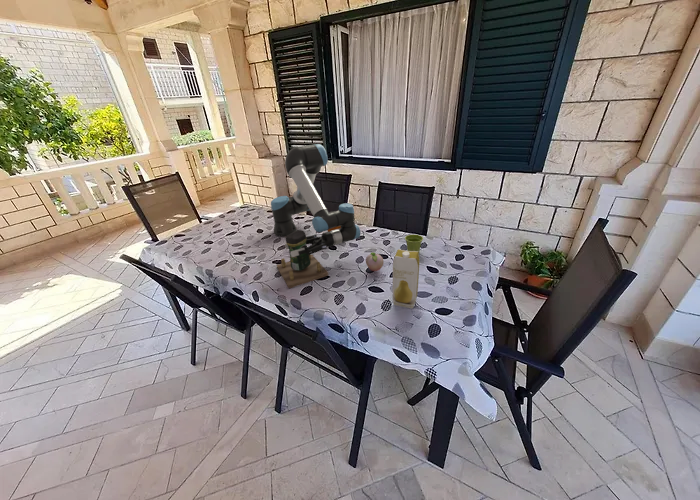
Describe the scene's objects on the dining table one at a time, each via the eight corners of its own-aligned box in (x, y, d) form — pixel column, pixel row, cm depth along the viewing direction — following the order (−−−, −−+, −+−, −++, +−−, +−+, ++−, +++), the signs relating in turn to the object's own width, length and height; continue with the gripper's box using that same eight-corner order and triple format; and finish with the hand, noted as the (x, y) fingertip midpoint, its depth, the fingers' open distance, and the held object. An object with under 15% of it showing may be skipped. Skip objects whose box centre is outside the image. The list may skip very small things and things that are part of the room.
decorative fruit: (386, 273, 130) (386, 255, 125) (370, 277, 128) (369, 259, 123) (379, 264, 138) (379, 247, 133) (364, 267, 136) (363, 250, 131)
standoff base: (276, 267, 141) (274, 257, 139) (312, 256, 149) (311, 247, 146) (289, 288, 124) (286, 277, 121) (328, 275, 132) (327, 264, 129)
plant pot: (401, 253, 146) (401, 238, 142) (410, 246, 152) (411, 232, 148) (416, 258, 140) (417, 243, 136) (425, 251, 146) (426, 237, 142)
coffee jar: (301, 260, 141) (296, 227, 132) (313, 263, 137) (308, 230, 128) (288, 268, 134) (281, 235, 125) (300, 273, 130) (293, 238, 121)
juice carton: (391, 306, 109) (391, 254, 97) (395, 294, 115) (396, 244, 104) (414, 311, 105) (418, 257, 94) (417, 298, 112) (421, 247, 100)
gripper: (341, 253, 131) (296, 267, 122) (324, 237, 147) (283, 248, 139) (340, 239, 127) (293, 252, 118) (322, 224, 144) (280, 235, 135)
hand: (288, 250), depth 129 cm, fingers closed on coffee jar, 8 cm apart
